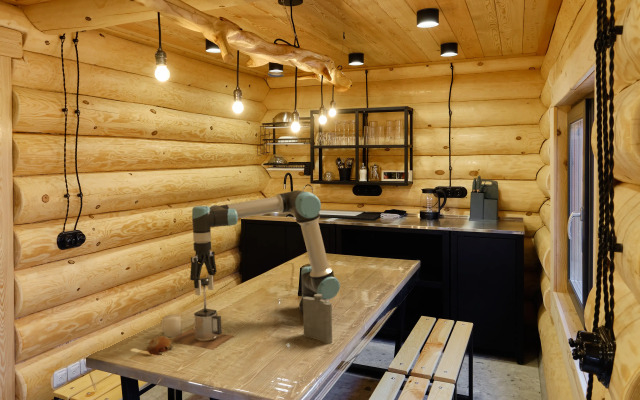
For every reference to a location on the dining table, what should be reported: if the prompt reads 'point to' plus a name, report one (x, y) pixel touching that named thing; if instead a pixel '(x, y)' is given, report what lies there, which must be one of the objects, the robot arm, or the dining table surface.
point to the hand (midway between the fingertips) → (204, 292)
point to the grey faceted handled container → (207, 325)
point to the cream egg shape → (171, 325)
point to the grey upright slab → (317, 318)
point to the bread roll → (159, 345)
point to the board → (190, 339)
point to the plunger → (204, 292)
